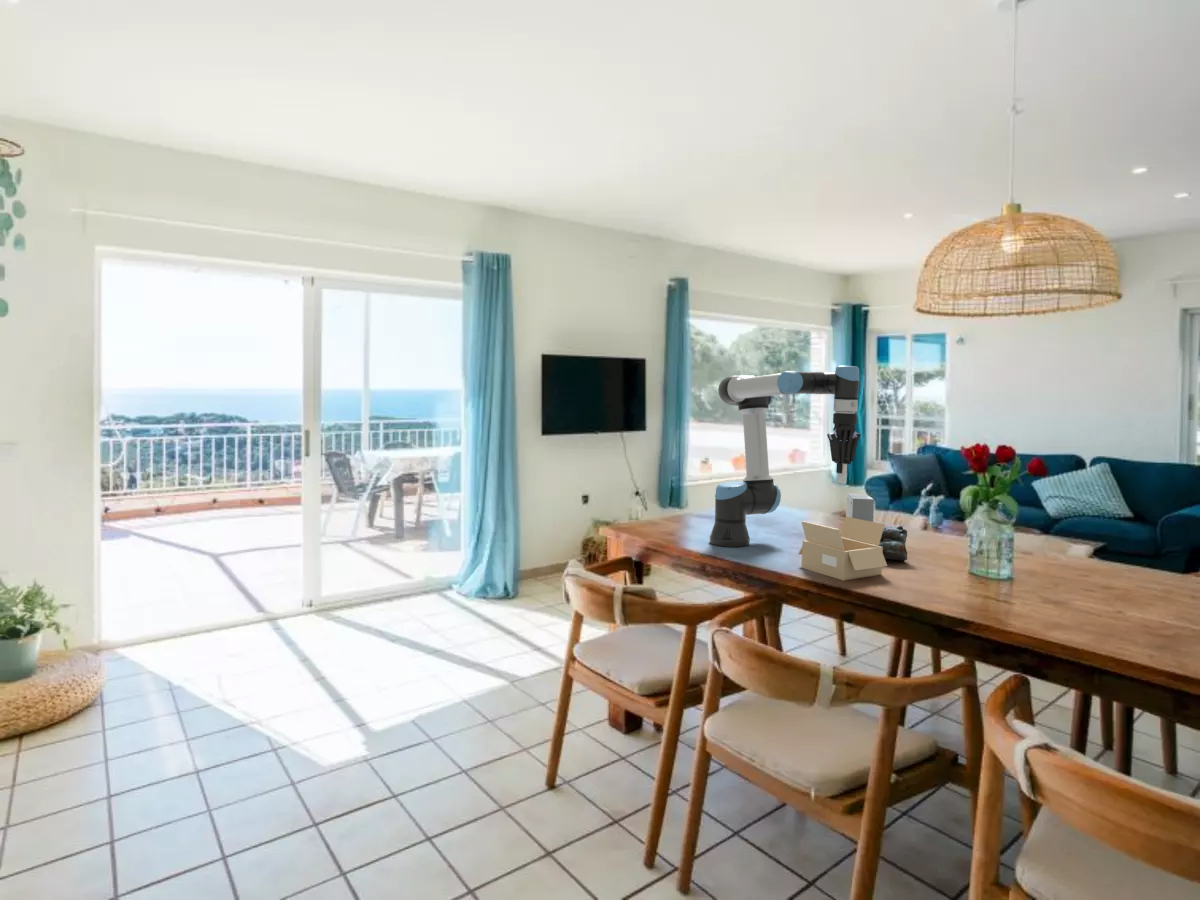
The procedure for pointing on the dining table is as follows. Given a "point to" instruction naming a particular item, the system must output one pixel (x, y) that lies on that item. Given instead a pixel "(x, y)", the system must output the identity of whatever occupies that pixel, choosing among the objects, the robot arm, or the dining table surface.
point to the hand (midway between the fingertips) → (841, 482)
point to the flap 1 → (822, 535)
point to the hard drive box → (860, 507)
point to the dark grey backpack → (894, 543)
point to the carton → (843, 559)
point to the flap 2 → (862, 530)
